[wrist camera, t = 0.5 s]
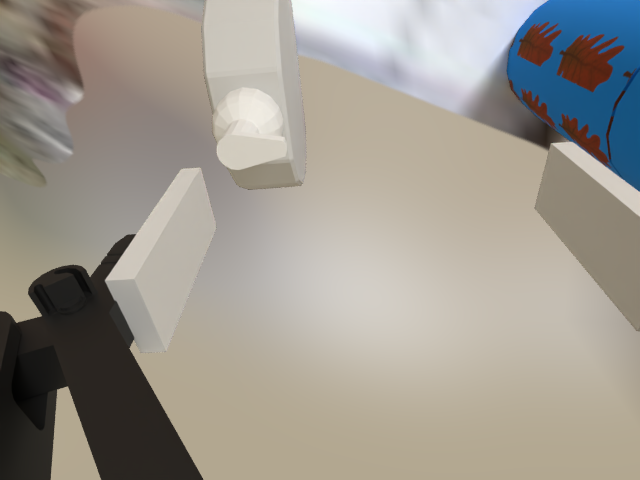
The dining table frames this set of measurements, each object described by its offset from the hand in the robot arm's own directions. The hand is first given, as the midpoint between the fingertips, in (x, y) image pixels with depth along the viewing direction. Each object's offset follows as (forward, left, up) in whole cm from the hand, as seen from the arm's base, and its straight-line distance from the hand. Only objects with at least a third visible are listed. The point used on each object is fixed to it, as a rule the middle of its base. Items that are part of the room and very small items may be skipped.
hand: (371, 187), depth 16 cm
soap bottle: (+1, -7, -27) cm, 28 cm away
